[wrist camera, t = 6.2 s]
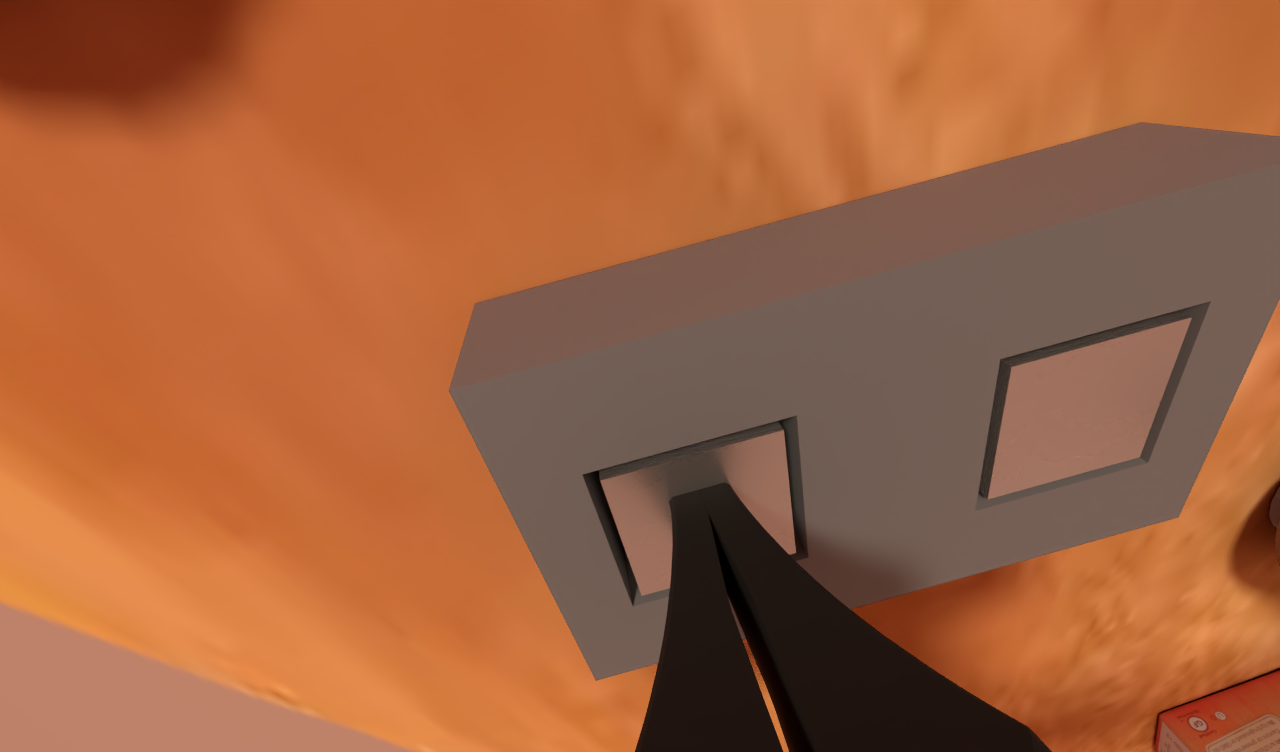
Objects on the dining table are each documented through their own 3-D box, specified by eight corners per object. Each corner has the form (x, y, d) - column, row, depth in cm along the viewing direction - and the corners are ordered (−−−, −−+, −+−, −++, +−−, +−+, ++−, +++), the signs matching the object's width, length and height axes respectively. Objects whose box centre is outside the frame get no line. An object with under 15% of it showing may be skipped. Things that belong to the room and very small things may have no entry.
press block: (1142, 122, 13) (1350, 144, 10) (1061, 432, 18) (1178, 517, 15) (475, 303, 13) (448, 390, 9) (586, 564, 18) (596, 680, 15)
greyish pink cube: (732, 348, 14) (784, 429, 11) (748, 458, 16) (796, 553, 13) (588, 387, 14) (599, 480, 11) (623, 492, 16) (641, 595, 13)
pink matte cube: (1050, 261, 14) (1192, 317, 11) (1026, 381, 16) (1139, 457, 13) (909, 299, 14) (1012, 366, 11) (903, 415, 16) (987, 499, 13)
